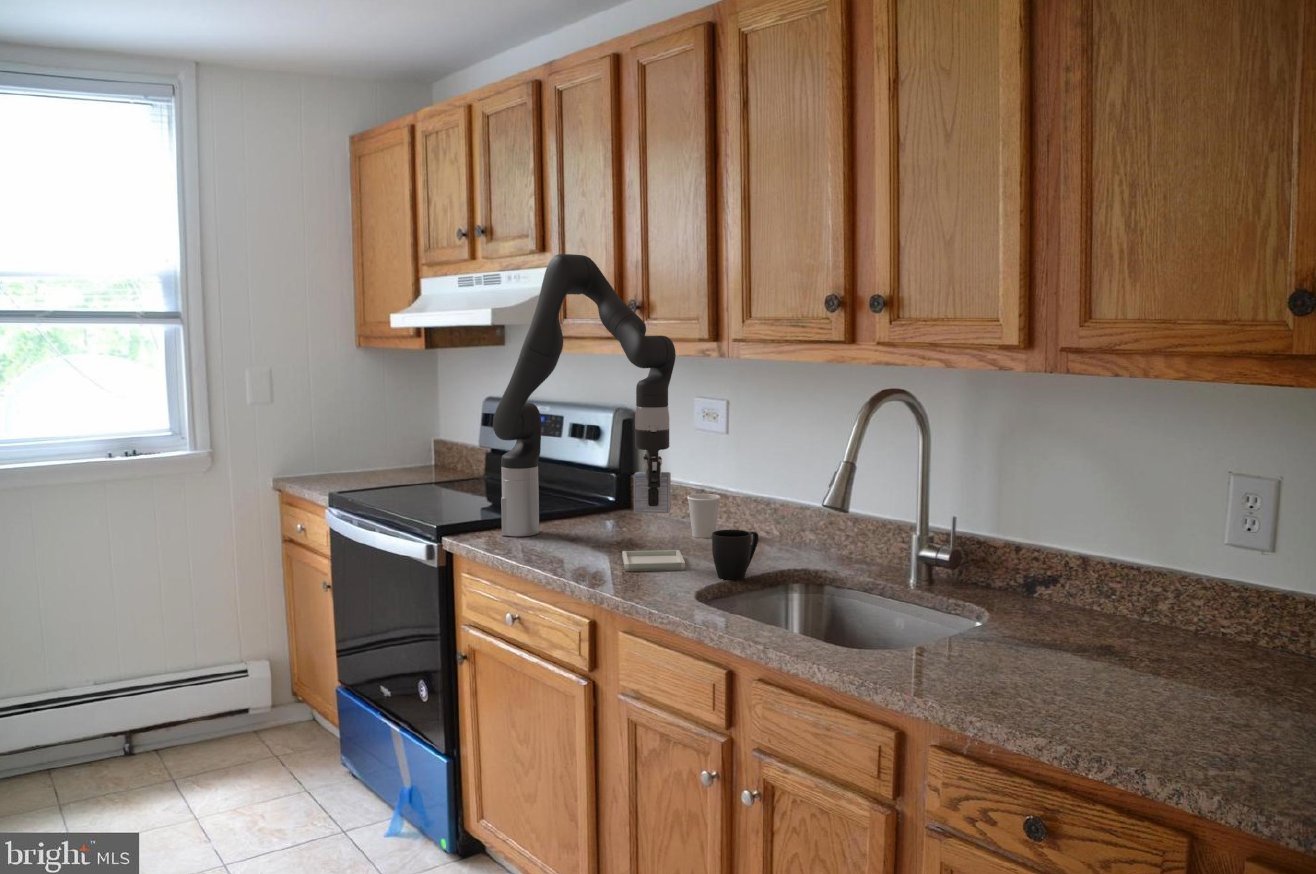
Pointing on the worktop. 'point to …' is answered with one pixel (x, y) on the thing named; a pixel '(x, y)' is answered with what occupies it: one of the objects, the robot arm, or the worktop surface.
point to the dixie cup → (703, 514)
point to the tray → (653, 560)
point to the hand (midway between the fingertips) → (652, 503)
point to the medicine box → (642, 494)
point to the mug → (733, 552)
